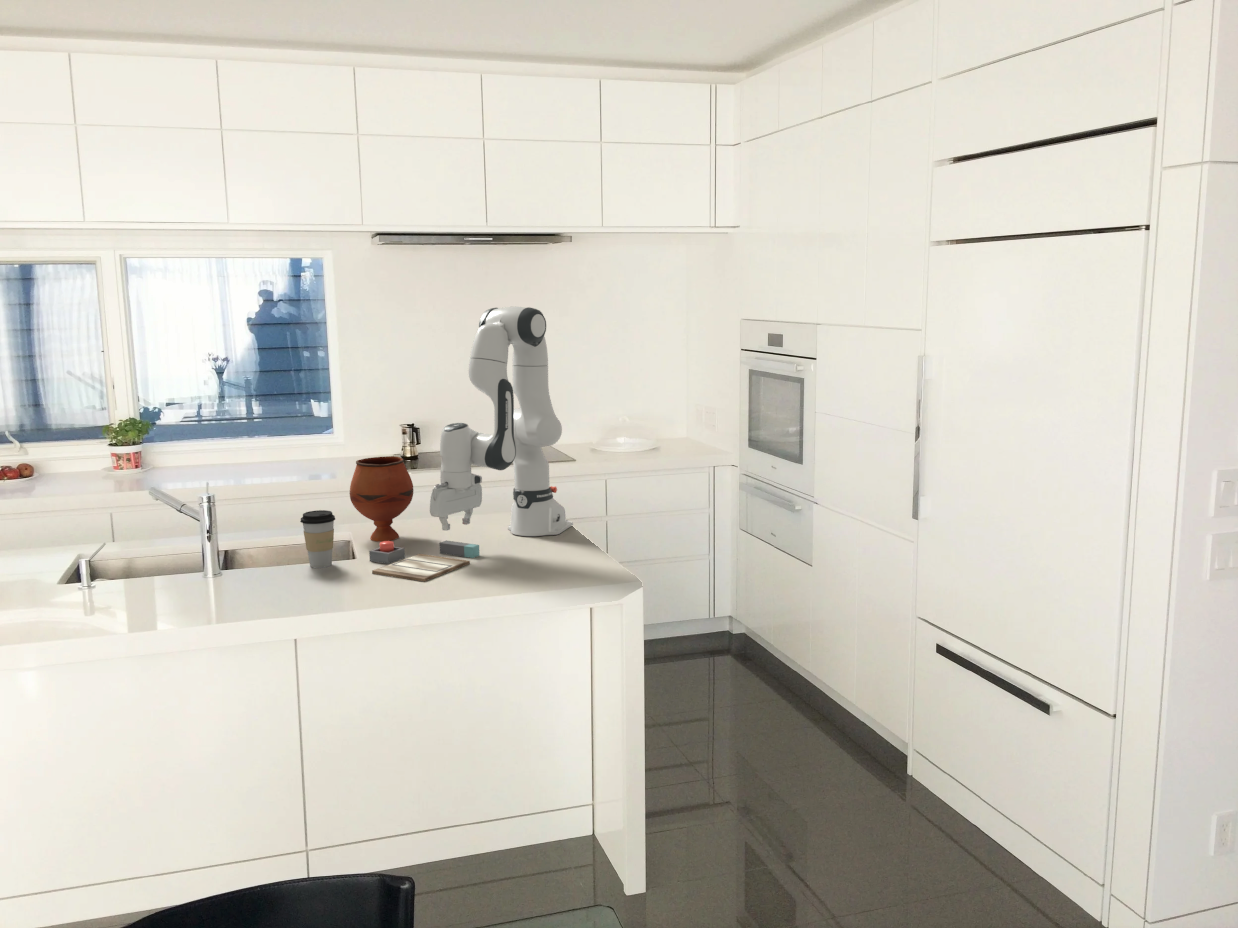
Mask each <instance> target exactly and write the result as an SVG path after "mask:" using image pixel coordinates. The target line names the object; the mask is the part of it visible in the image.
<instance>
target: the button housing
mask: <svg viewBox="0 0 1238 928" xmlns="http://www.w3.org/2000/svg"><path fill="white" fill-rule="evenodd" d="M368 553H369V554H368V555H369V562H372V563H373V562H374V563H379V564H386V565H389V564H392V563H395V562H398V561H400V560H403V559H406V551H405V547H400V546H394V551H391V552H388V553H387V552H380V547H377V548H374V549H371V550H369V551H368Z"/></svg>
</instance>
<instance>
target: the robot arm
mask: <svg viewBox="0 0 1238 928" xmlns="http://www.w3.org/2000/svg"><path fill="white" fill-rule="evenodd" d="M478 322H479V323H478V329H477V331H476V333H475V334H474V335H475V336H474V338H473V342H472V346H471V351H470V356H469V363H468V378H469V380H470V382H471V384H472V385H473V386H474V387H475V388H476V389H477V390H478V391H480V392H481V393H483V394H485V395H486V396H488V398H489V399H490V400H491V401H492V403H493V408H494V410H493V412H494V413H493V414H494V416H493V417H494V418H493V421H494V422H493V423H494V425H493V426H494V428H493V433H491V434H489V433H482V432H479V431H476V430H474V429H472V428H471V427H470V426H469V425H468V423H465V422H455V423H450V424H447V425H445V426H443V428H442V431H441V434H440V443H439V456H440V459H441V463H440V464H441V465H440V469H439V471H440V475H439V476H440V477H439V478H440V479H439V480H440V482H439V483H437V484H435V486H434V487H433V489H432V491H431V493H430V494H431V495H430V500H429V514H430V515H431V517H434V518H439V521H440V523H441V529H442V531H450V530H451V523H449V521H448V519H449V515H453V514H457V513H461V512H465V513H464V516H463V518H462V517H461V518H462V524H463V525H465V526H467V525H469V524H471V518H472V515H473V512H474V509H476V508H479V507H481V504H482V501H483V487H482V484H481V483H482V482H483V476H482V475H479V474H475V473H472V467H471V465H472V466H477V467H484V468H489V469H493V470H497V471H504V470H506V469H507V468H508V467H510V466H511V465H513V474H514V475H513V479H514V481H513V482H514V488H513V491H512V498H513V499H512V500H514V501H513V503H512V504H511V510H510V512H511V513H510V524H509V525H507V529H508V530H509V531H510V533H511V534H513V535H515V536H523V537H540V536H542V537H543V536H553V535H554V536H555V535H559V534H561V533H563V532H564V531H566V530H568V529H569V528H570V527H572V526H573V525H574V522H573V521H572V520H569V519H567V518H566V517H567V516H566V509H565V507H564V506H563V505H562V504H561V503H560V502H558V501H557V499H555V498H554V494H553V493H555V494H556V493H557V491H558V487H557V486H552V485H551V486H550V464H549V461H548V459H547V458H546V456H545V454H544V452H543V449H542V447H549V446H553V445H555V444H556V443H558V441H559V440H560V439H561V436H562V433H563V425H562V423H561V421H560V420H559V418H558V417H557V415H556V414H555V410H554V407H553V404H552V399H551V395H550V391H549V390H550V389H549V357H548V356H549V355H548V347H547V341H546V337H545V336H546V332H547V321H546V318H545V316H544V314H543V312H542V311H541V310H539V309H537V308H534V307H530V306H529V307H522V306H507V307H506V306H504V307H492V308H489V309H486V310H485V311H484V312H483V313H482V314H481V315H480V318H479V321H478ZM510 345H512V347H513V348H512V349H513V350H512V383H511V382H510V381H509V378H508V377H509V376H508V360H509V347H510ZM514 394H515V397H516V398H517V401H518V404H519V408H518V407H517V408H515V402H514V401H515V400H514V398H515V397H514Z"/></svg>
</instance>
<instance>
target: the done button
mask: <svg viewBox="0 0 1238 928" xmlns="http://www.w3.org/2000/svg"><path fill="white" fill-rule="evenodd" d="M394 547H395V542H394V540H392V541H383V542H379V548H380V552H387V553H388V552H391V551H394Z"/></svg>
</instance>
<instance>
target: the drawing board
mask: <svg viewBox="0 0 1238 928" xmlns="http://www.w3.org/2000/svg"><path fill="white" fill-rule="evenodd" d="M470 564H471V560H466V559H459V558H452V557H446V556H439V555H431V554H424V553H417V554H416V555H413V556H409V557H405V558H404V559H401V560H399V561H396V562H393V563H390V564H386V565H384V566H382V567H379V568H375V569H373V570H371V572H372V574H373V575H381V576H385V575H386V577H391V576H393V578H398V579H406V580H411V581H416V580H417V582H422V581H423V583H425V582H428V581H430V580H432V579H435V578H437V577H440V576H443V575H444V574H447V572H448V573H450V572H452V570H453V571H455V570H458V569H460V568H462V567H465V566H467V565H470ZM457 568H458V569H457ZM442 574H443V575H442Z"/></svg>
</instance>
